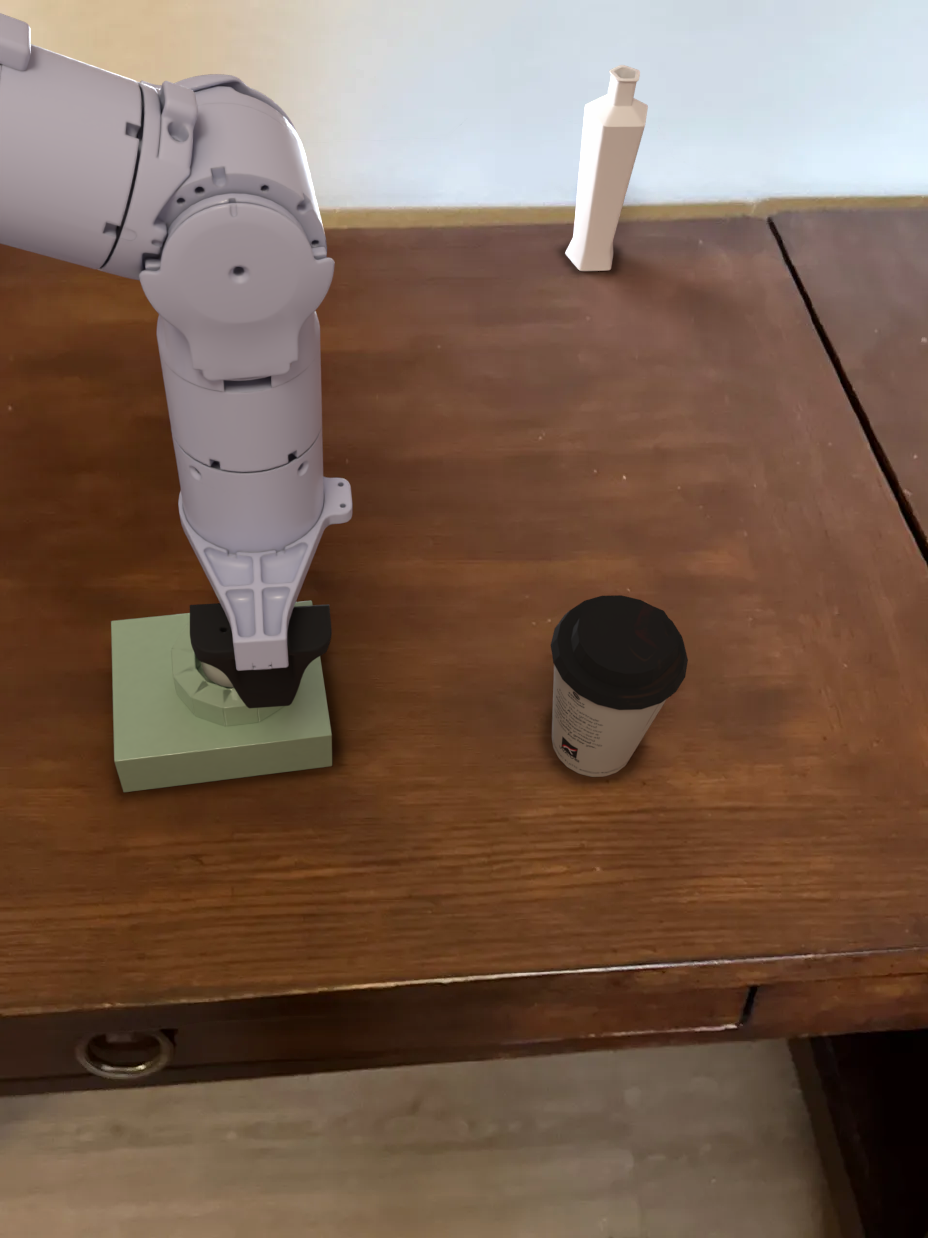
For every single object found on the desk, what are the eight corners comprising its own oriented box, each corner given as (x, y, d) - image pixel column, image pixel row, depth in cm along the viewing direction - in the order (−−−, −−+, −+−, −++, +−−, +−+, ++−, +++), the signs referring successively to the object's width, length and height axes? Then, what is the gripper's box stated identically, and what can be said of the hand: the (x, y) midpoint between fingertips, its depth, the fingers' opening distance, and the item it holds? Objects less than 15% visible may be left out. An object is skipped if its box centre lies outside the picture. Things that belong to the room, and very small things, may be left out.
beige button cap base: (123, 793, 64) (108, 742, 60) (119, 654, 69) (105, 600, 65) (332, 766, 66) (331, 716, 62) (313, 634, 71) (311, 580, 67)
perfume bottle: (551, 262, 94) (581, 77, 82) (574, 234, 97) (606, 50, 85) (605, 283, 93) (643, 98, 81) (627, 254, 96) (667, 70, 84)
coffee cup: (550, 806, 65) (577, 703, 57) (516, 699, 69) (538, 589, 61) (671, 784, 66) (715, 681, 59) (631, 681, 70) (667, 571, 63)
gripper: (368, 559, 43) (363, 758, 53) (338, 296, 51) (339, 514, 62) (162, 570, 42) (200, 771, 52) (167, 300, 50) (199, 520, 61)
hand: (265, 632), depth 57 cm, fingers open, 7 cm apart
